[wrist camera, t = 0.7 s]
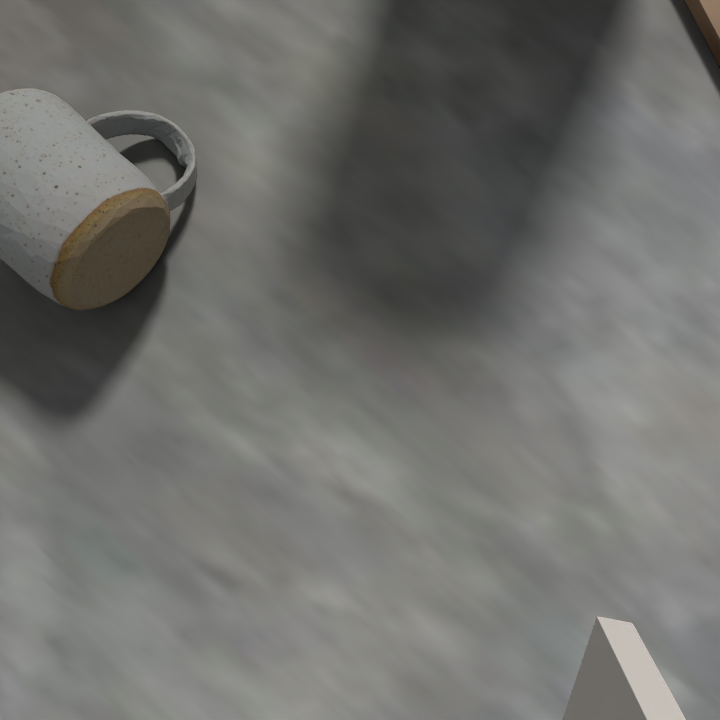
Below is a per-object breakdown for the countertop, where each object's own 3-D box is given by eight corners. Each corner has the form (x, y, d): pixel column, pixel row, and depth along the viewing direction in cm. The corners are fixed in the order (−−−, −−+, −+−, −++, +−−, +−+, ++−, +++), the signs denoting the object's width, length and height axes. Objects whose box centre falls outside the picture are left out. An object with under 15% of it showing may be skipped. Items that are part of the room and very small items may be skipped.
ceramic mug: (105, 338, 35) (21, 293, 27) (-3, 243, 36) (-111, 176, 29) (242, 184, 36) (197, 100, 29) (131, 98, 38) (62, -2, 30)
